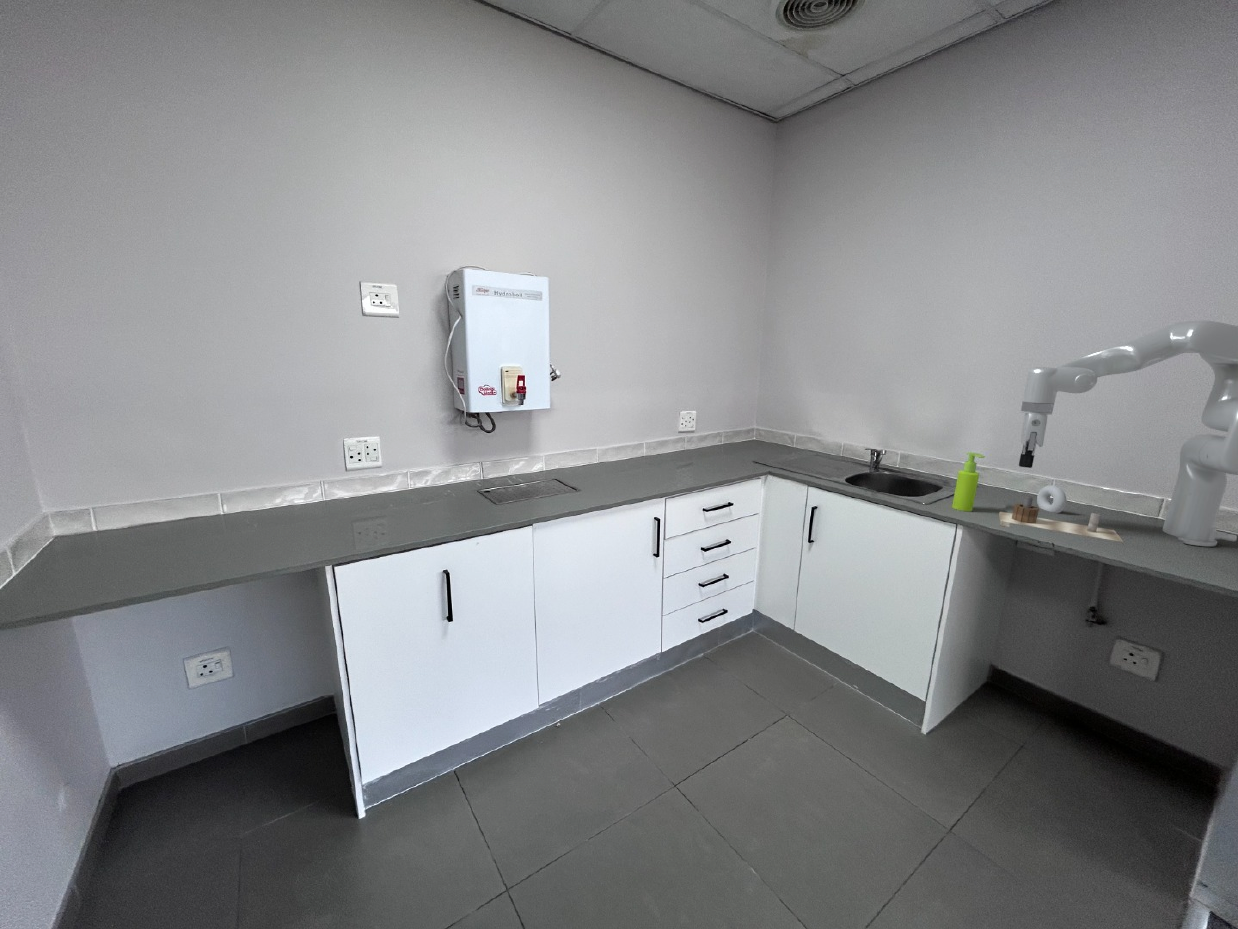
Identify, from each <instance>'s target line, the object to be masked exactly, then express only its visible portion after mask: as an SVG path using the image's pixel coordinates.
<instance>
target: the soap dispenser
mask: <svg viewBox="0 0 1238 929" xmlns="http://www.w3.org/2000/svg"><path fill="white" fill-rule="evenodd" d="M966 455H968V459H967V461H965V462H964V463H963V470H958V472H957V478H956V484H955V490H954V494H953V501H952V505H951V508H952V509H954V510H956V509H957V511H960V510H961V511H960V512H972V511H973V508H974V504H975V503H974V502H975V497H976V492H977V487H978V482H979V477H980V473H979V472H976V470H977V462H975V460H976V458H981V459H982V458H983V459H984V458H985V455H983V454H981V453H976V452H966ZM975 457H976V458H975Z"/></svg>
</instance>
